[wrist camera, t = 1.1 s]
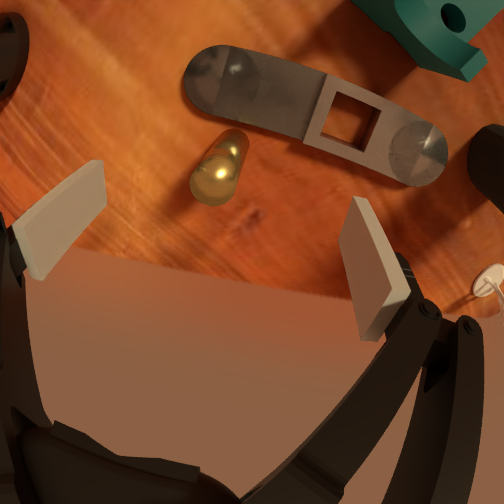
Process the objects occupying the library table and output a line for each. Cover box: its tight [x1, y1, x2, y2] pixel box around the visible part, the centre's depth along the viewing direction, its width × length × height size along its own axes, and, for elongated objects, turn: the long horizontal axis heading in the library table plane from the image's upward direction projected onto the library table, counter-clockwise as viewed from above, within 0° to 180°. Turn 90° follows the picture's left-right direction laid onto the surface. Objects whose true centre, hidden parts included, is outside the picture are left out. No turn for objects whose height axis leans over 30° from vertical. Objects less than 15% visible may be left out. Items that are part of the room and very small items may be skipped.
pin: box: [189, 129, 249, 206], centre depth 27 cm, size 4×4×12 cm
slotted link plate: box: [184, 45, 448, 187], centre depth 27 cm, size 31×8×2 cm, turn 74°
